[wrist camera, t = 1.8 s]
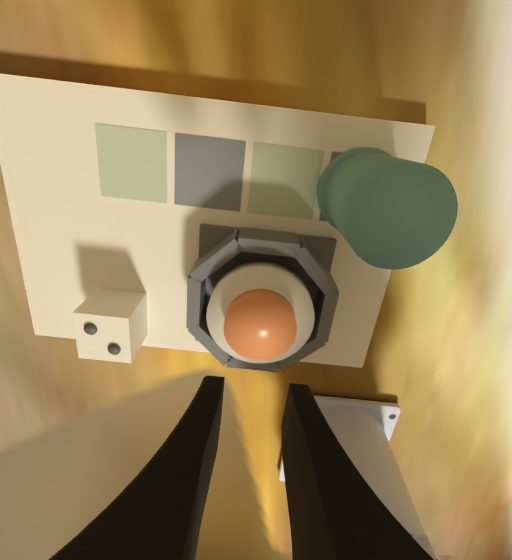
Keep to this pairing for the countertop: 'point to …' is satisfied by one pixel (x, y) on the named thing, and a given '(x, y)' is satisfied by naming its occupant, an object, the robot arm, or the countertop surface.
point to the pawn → (387, 206)
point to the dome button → (260, 312)
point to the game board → (180, 214)
